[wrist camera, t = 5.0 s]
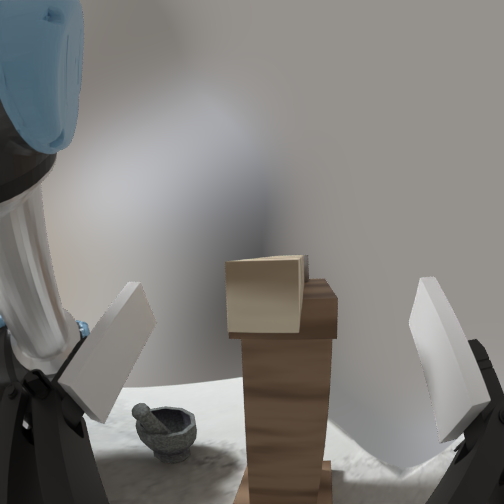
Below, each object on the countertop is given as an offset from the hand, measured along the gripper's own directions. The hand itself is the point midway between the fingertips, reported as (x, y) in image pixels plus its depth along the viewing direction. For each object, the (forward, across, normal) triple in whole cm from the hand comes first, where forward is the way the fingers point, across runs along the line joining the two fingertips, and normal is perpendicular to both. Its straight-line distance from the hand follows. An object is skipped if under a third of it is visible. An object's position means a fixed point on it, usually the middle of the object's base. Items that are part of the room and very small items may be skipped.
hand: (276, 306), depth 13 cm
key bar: (+9, 0, -6) cm, 11 cm away
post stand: (-1, 0, -34) cm, 34 cm away
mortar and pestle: (+4, -20, -37) cm, 42 cm away
